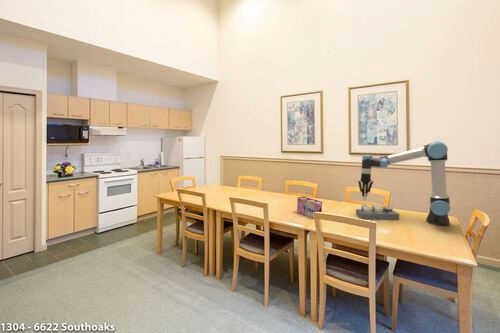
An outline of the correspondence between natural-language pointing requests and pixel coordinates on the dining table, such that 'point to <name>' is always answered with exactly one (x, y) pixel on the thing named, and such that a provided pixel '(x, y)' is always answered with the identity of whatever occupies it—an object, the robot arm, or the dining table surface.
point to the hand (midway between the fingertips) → (364, 200)
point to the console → (377, 214)
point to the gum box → (308, 206)
